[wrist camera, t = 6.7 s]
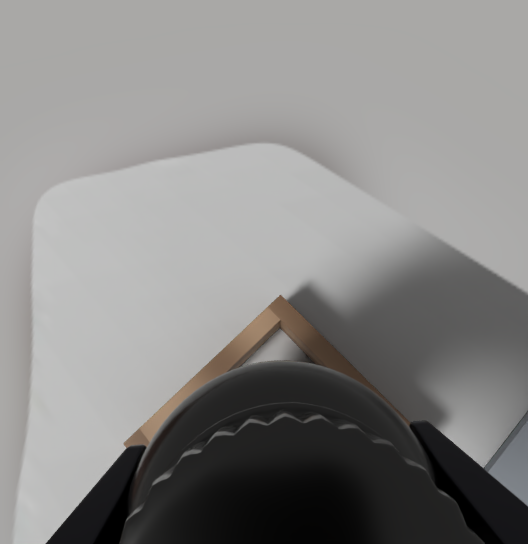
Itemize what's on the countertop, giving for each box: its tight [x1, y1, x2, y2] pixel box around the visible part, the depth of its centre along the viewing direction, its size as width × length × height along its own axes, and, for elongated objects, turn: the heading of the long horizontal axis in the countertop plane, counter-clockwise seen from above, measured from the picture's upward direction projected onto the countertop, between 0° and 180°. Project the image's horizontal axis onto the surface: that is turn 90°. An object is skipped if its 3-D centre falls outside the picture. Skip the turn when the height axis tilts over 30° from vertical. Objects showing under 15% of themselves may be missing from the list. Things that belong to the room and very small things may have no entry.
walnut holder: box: [123, 295, 410, 448], centre depth 18 cm, size 11×11×2 cm
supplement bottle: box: [119, 361, 485, 544], centre depth 9 cm, size 7×7×12 cm
